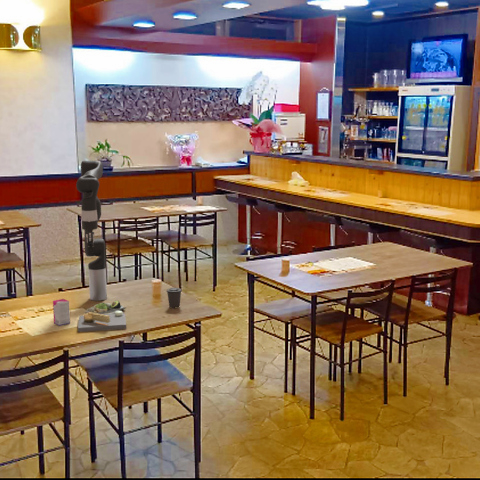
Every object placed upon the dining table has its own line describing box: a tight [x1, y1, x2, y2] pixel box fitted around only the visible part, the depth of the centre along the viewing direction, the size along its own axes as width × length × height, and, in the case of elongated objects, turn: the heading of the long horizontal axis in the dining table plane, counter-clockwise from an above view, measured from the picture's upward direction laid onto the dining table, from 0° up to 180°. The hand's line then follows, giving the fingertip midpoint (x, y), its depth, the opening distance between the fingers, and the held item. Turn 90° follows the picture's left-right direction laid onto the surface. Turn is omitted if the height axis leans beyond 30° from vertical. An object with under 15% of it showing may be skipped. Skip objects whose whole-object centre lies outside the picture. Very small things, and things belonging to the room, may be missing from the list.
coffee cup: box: [166, 287, 183, 309], centre depth 321 cm, size 8×8×10 cm
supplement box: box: [52, 298, 71, 327], centre depth 295 cm, size 6×6×12 cm
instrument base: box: [77, 310, 127, 333], centre depth 295 cm, size 18×22×4 cm
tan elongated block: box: [83, 311, 110, 323], centre depth 291 cm, size 5×14×4 cm, turn 61°
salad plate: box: [86, 300, 127, 314], centre depth 314 cm, size 19×18×5 cm
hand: (91, 254), depth 300 cm, fingers closed
